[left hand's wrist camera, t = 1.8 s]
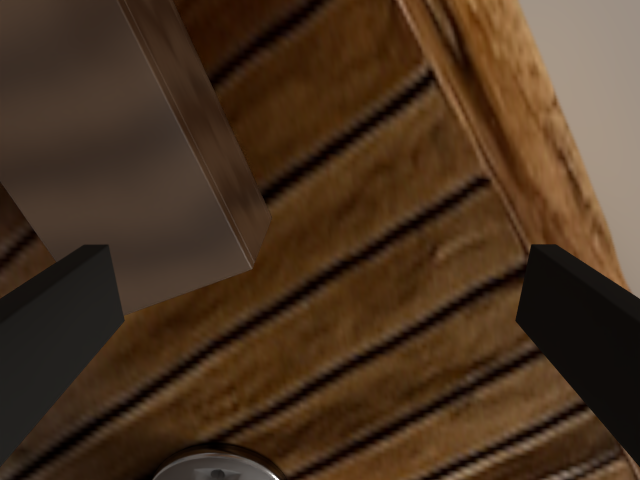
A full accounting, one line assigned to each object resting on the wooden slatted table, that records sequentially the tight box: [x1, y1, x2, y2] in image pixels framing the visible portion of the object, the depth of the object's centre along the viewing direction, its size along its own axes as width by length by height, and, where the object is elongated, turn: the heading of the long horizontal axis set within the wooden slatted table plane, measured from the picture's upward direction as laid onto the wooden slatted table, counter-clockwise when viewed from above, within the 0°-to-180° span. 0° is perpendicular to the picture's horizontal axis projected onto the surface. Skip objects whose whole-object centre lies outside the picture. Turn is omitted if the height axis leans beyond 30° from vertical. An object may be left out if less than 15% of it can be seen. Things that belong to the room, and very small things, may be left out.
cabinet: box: [0, 0, 272, 316], centre depth 24 cm, size 18×10×10 cm, turn 21°
